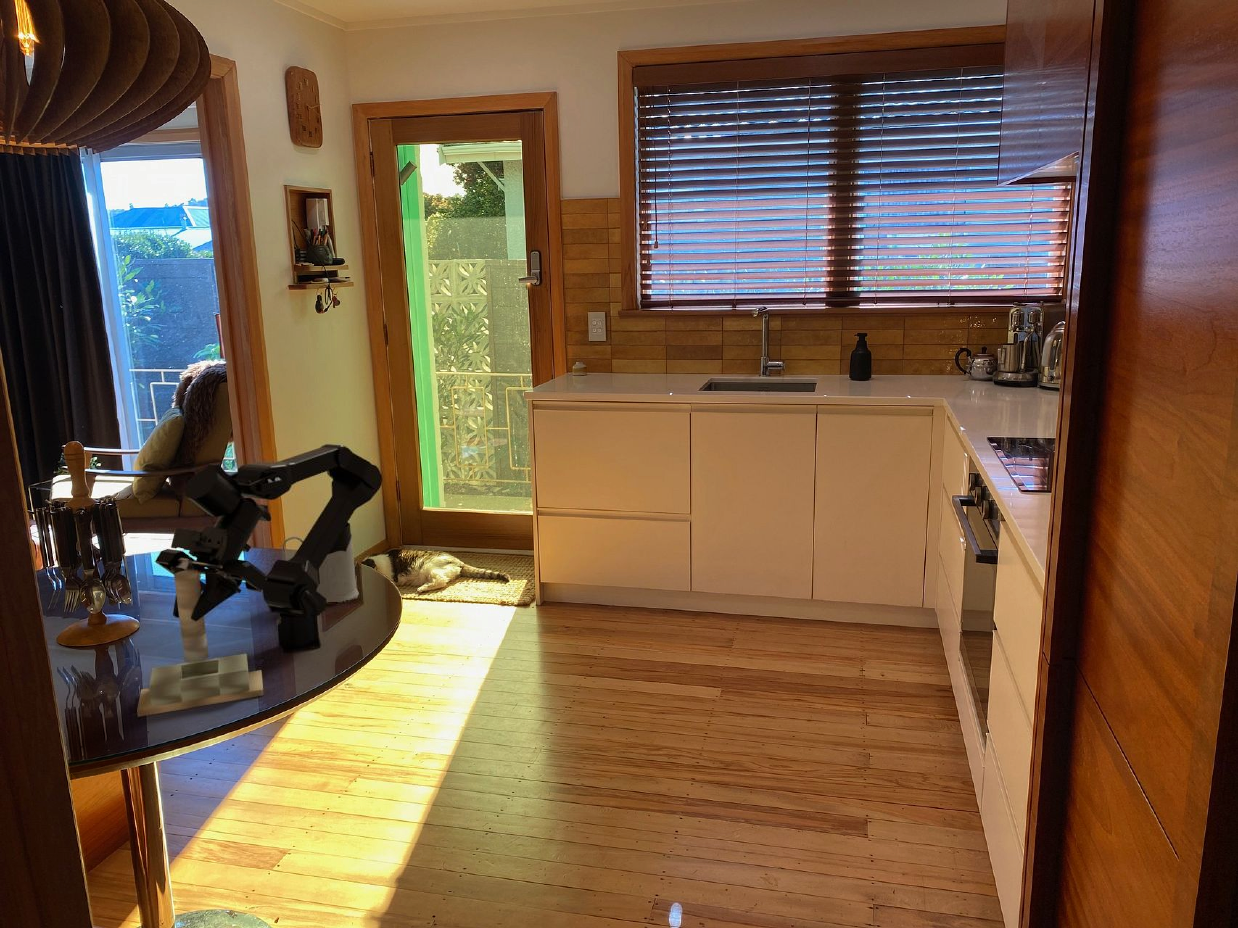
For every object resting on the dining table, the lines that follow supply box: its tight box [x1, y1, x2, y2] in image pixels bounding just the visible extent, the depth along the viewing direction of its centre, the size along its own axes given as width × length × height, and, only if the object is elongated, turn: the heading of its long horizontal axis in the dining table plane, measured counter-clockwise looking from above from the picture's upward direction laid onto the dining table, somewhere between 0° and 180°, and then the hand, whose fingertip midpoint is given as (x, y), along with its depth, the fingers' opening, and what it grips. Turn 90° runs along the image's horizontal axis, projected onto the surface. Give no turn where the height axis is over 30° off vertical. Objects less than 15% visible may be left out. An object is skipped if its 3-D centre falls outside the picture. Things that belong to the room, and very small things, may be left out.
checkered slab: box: [136, 653, 264, 717], centre depth 150 cm, size 18×8×4 cm, turn 112°
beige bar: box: [173, 570, 210, 663], centre depth 148 cm, size 4×4×14 cm
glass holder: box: [281, 521, 360, 604], centre depth 193 cm, size 9×14×15 cm, turn 116°
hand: (184, 618), depth 147 cm, fingers closed on beige bar, 3 cm apart
